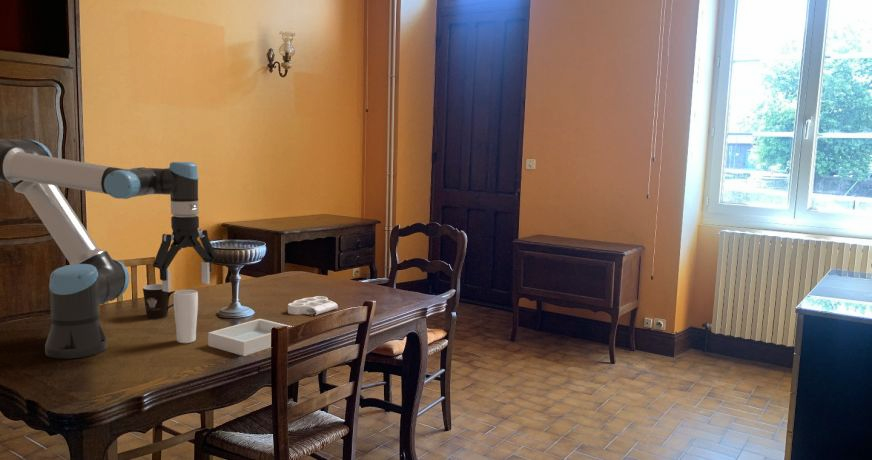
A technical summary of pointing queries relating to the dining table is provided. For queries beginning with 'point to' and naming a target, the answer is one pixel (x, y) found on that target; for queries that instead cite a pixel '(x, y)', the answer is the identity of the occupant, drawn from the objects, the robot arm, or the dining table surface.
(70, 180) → the robot arm
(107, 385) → the dining table surface
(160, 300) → the coffee mug
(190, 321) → the drinking glass
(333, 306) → the white flat molded slab
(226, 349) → the white shallow tray
